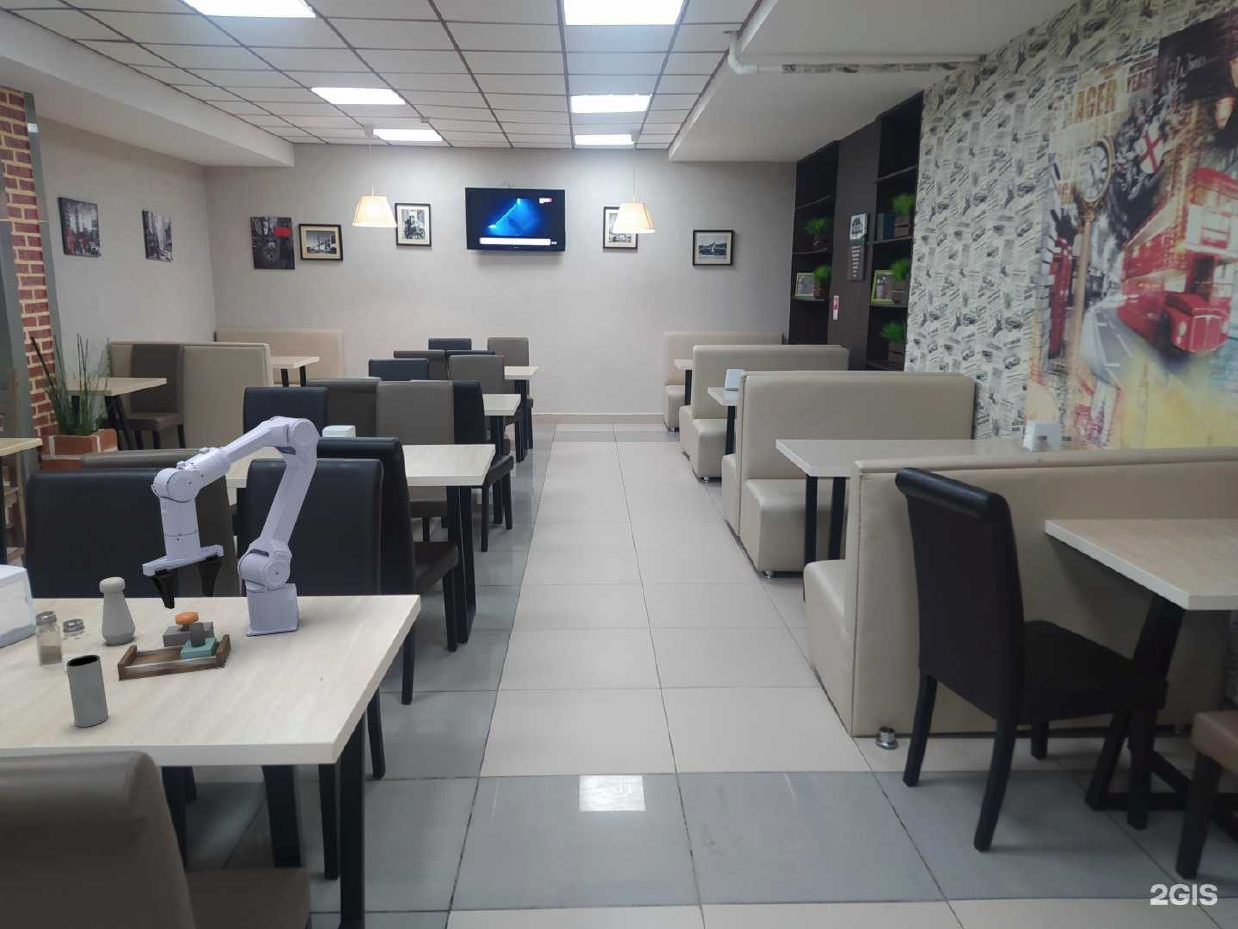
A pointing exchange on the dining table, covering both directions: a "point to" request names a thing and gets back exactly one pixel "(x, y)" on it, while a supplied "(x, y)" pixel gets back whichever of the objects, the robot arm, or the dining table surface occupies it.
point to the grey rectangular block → (184, 634)
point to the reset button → (186, 619)
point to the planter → (87, 690)
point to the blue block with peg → (198, 643)
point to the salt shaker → (116, 613)
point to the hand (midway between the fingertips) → (189, 601)
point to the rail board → (168, 660)
